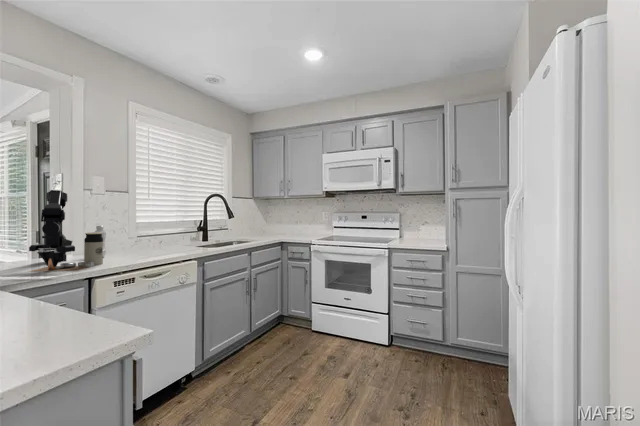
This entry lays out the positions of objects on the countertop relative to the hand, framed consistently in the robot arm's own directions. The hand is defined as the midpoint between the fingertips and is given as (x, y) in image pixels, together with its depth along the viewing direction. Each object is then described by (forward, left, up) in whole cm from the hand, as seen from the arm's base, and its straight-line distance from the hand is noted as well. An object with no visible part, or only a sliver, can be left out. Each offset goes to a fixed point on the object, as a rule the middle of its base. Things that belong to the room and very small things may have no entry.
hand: (52, 266), depth 144 cm
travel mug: (+9, +17, -3) cm, 19 cm away
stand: (+2, +5, -3) cm, 6 cm away
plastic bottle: (-6, +51, -3) cm, 51 cm away
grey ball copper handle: (+1, +5, -1) cm, 5 cm away
